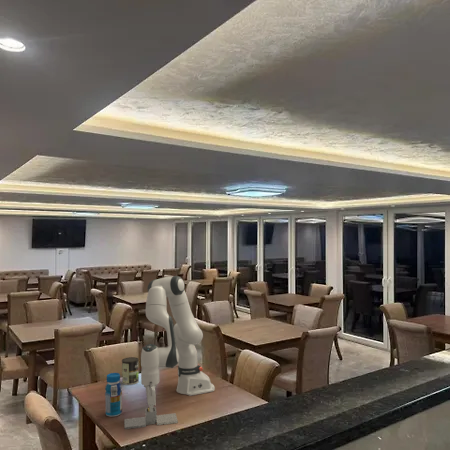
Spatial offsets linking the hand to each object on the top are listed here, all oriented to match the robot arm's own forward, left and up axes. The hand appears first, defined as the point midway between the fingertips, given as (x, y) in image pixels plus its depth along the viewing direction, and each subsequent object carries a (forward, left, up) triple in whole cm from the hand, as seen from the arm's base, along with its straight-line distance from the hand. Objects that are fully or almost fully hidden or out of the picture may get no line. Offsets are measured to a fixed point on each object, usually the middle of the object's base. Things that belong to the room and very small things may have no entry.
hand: (150, 407), depth 206 cm
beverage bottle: (+18, -15, -7) cm, 25 cm away
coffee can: (+9, -61, -7) cm, 62 cm away
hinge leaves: (0, 0, -7) cm, 7 cm away
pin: (0, 0, -7) cm, 7 cm away
